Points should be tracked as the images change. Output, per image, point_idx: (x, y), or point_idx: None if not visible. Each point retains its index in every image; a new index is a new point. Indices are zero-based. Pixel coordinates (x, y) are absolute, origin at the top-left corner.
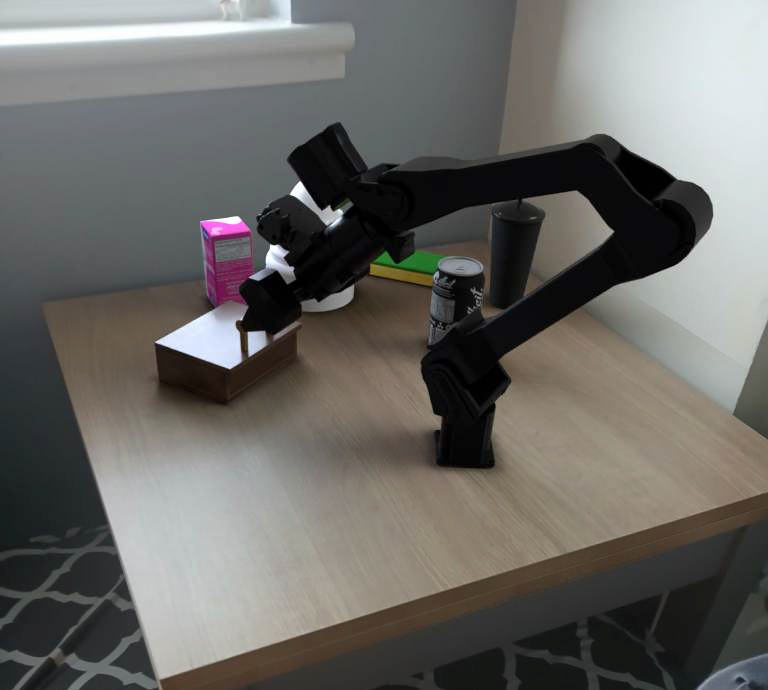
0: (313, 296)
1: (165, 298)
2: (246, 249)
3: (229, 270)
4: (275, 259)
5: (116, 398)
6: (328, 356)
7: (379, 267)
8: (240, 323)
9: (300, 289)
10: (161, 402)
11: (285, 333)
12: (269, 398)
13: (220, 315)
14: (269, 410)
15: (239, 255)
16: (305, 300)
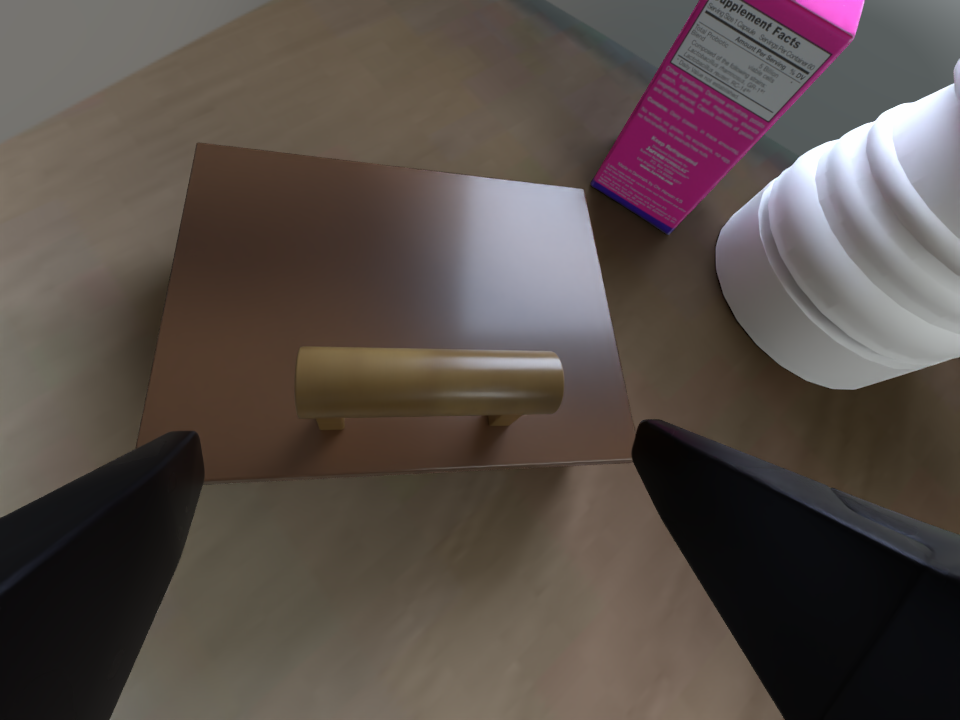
0: (730, 610)
1: (560, 75)
2: (779, 88)
3: (685, 111)
4: (820, 175)
5: (74, 201)
6: (639, 533)
7: None
8: (161, 436)
9: (714, 506)
10: (113, 307)
11: (541, 463)
12: (318, 562)
13: (490, 213)
14: (244, 622)
15: (744, 91)
16: (681, 548)
